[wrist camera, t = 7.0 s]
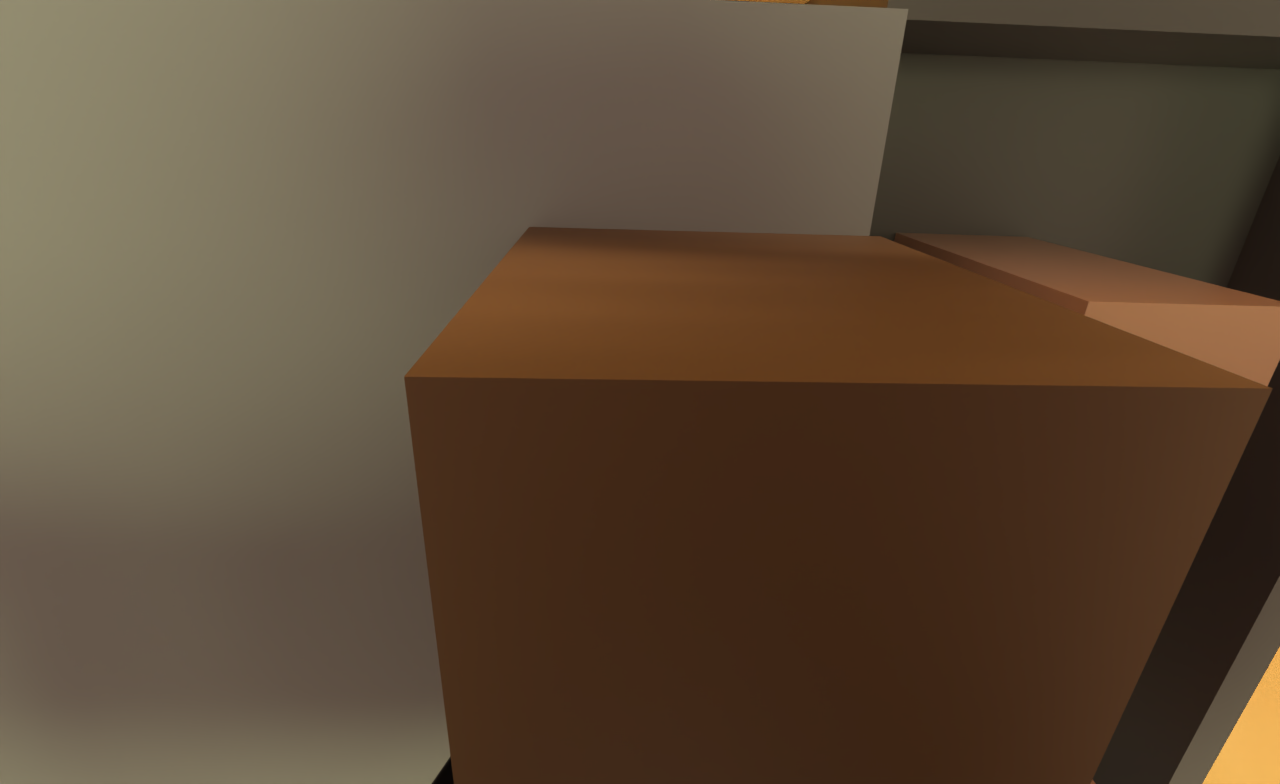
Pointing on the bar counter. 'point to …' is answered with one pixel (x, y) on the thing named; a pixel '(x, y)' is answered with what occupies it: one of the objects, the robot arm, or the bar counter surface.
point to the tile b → (1126, 297)
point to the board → (322, 326)
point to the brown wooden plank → (799, 514)
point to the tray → (1122, 255)
